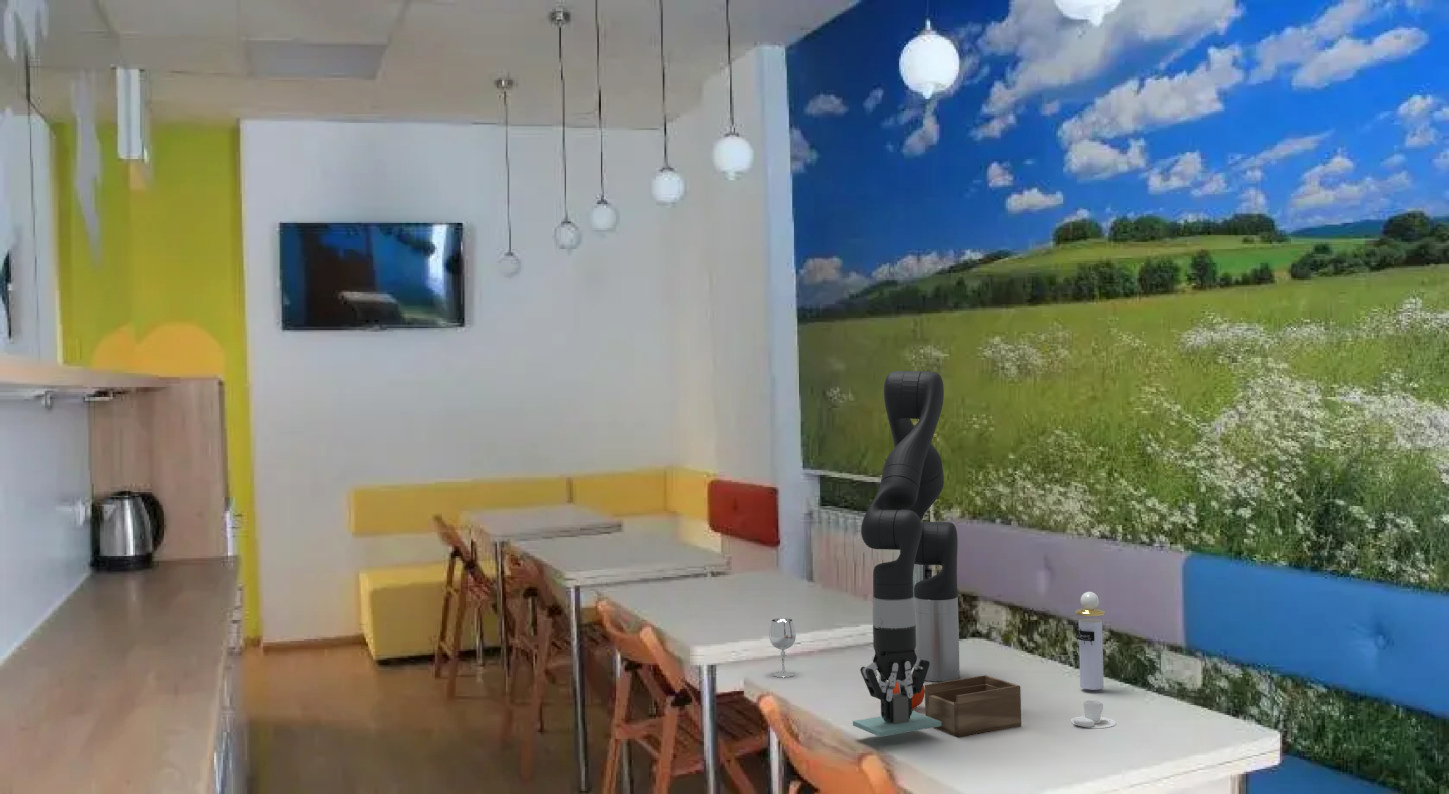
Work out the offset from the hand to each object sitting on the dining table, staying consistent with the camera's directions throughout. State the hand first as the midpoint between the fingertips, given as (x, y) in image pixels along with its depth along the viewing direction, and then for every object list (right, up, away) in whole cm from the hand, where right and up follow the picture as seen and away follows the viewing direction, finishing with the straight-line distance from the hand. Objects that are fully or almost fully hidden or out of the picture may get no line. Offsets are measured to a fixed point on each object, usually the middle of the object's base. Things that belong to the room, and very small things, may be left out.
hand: (896, 719), depth 217 cm
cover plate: (0, -1, 0) cm, 1 cm away
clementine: (+4, -4, +20) cm, 21 cm away
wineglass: (-18, -4, +51) cm, 54 cm away
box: (+15, -3, +8) cm, 17 cm away
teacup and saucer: (+34, -3, +9) cm, 35 cm away
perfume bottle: (+44, -2, +31) cm, 54 cm away
